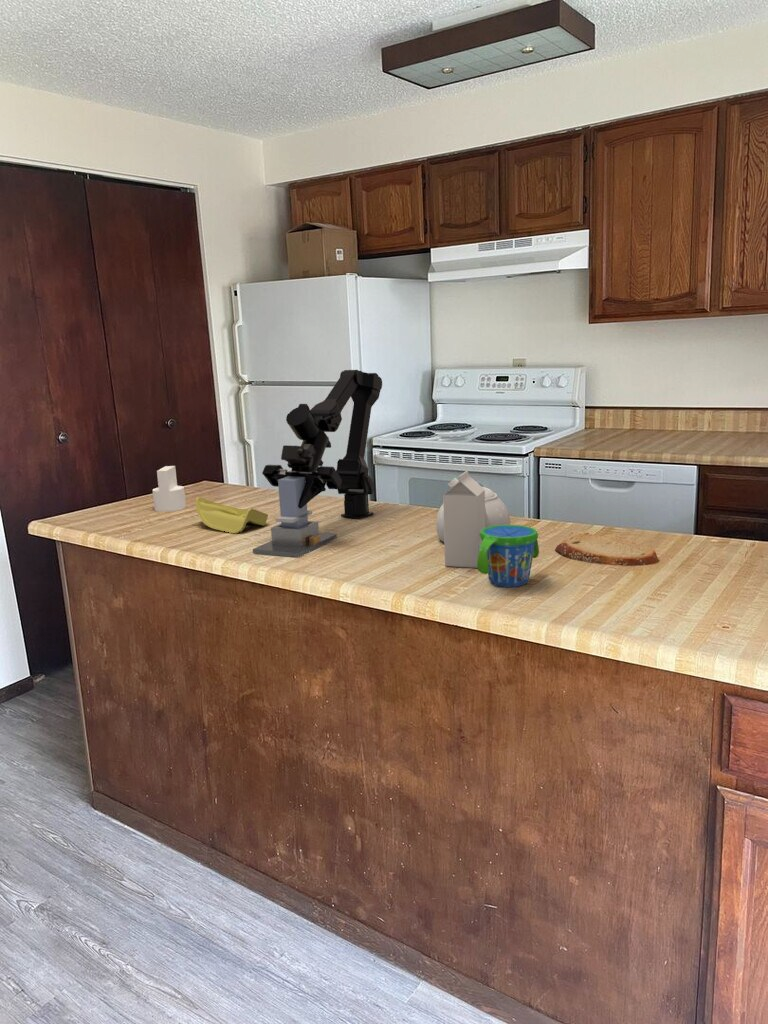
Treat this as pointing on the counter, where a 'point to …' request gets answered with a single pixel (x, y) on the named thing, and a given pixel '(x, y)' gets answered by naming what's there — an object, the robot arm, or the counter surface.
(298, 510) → the grey tall block
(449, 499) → the milk carton
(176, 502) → the cylinder with rectangular tab
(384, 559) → the counter surface
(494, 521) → the teapot
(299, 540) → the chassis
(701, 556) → the counter surface
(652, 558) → the slice of bread
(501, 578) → the snack cup
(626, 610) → the counter surface
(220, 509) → the plastic component
